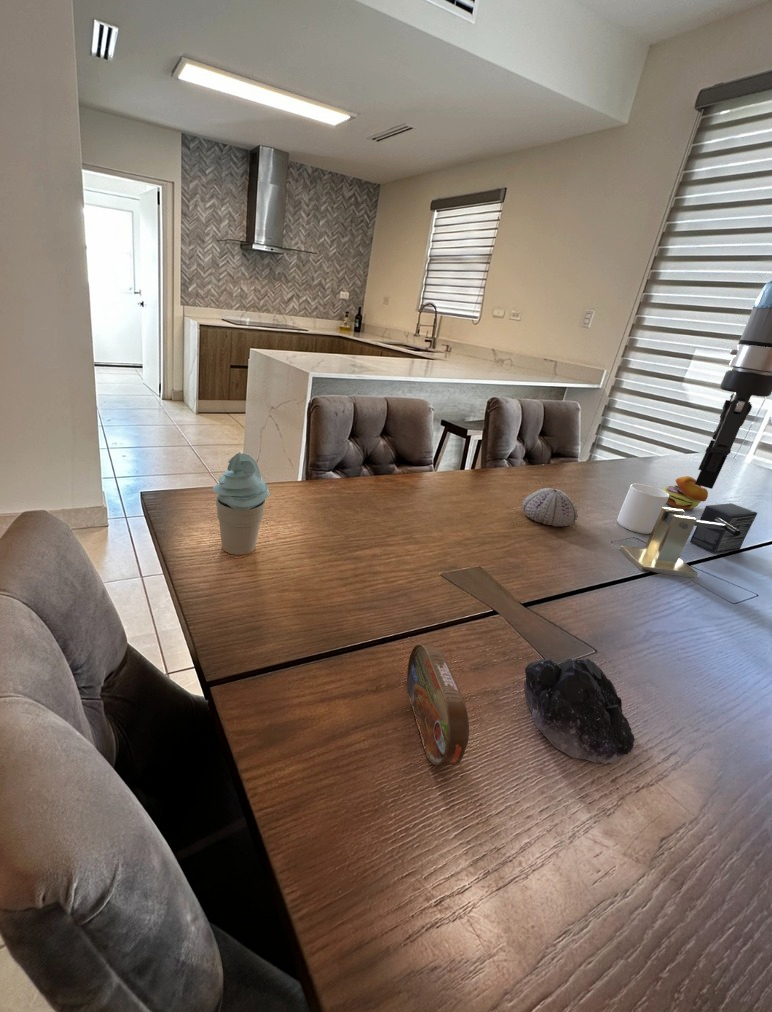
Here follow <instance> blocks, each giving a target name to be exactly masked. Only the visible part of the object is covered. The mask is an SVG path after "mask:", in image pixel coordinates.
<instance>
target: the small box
mask: <svg viewBox="0 0 772 1012" xmlns="http://www.w3.org/2000/svg"><path fill="white" fill-rule="evenodd" d="M701 513H702V514H701V515H700V517H699V519H698V520H699V521H707V522H714V520H715V519H717V518H720V519H722V520H723V521H725V522H726V523H728V524H730V525H731V526H733V527H734V528H736V529H738V530H739V531H740V532H741V534H740V535H739V536H734V535H732V534H730V533H729V532H727V531H726V530H723V529H715V528H707V527H700V526H695V529H694V531H693V532H692V535H691V538H690V539H689V543H690V544H693V545H695V546H697V547H699V548H701V549H703V550H705V551H707V552H710V553H712V554H714V555H715V554H721V553H728V552H734V551H740V550H741V547H742V546H743V543H744V542H745V539H746V536H747V535H748V533H749V531H750V529H751V527H752V525H753V523H754V521H755V520H756V517H757V516H758V512H756V511H753V510H751V509H748V508H745V507H743V506H740V505H737V504H735V503H732V502H730V503H729V502H727V503H718V504H710V505H709V504H708V505H705V507H704V509H703V512H701Z"/></svg>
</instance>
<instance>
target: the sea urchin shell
mask: <svg viewBox="0 0 772 1012" xmlns="http://www.w3.org/2000/svg"><path fill="white" fill-rule="evenodd" d="M521 509H522V512H523V513H524V515H526V516H527V517H528V518H529V519H530V520H532V521H535V522H537V523H541V524H543V525H547V526H552V527H567V526H568V527H569V526H571V525H573V524H574V523H576V521H577V520H578V517H579V516H578V509H577V506H576V505H575V502H574V501H573V500H572V498H570V496H569V495H568V494H567V493H565V492H563V491H562V490H560V489H556V488H551V487H545V488H540V489H537V490H536V491H534V492H532V493H530V494H529V495H527V496H526V497H525V498H523V501H522V504H521Z"/></svg>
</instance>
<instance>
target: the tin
mask: <svg viewBox="0 0 772 1012" xmlns="http://www.w3.org/2000/svg"><path fill="white" fill-rule="evenodd" d="M406 689H407V695H408V694H409V696H410V698H411V703H412V706H414V710H415V711H414V712H415V714H416V716H415V717H416V719H417V722H418V724H419V726H420V730H421V734H422V737H423V739H424V746H425V747H426V748H425V750H426V751H424V753H425V752H426V754H425V756H426V759H428V761H429V762H430V764H432V765H433V766H439V765H442V766H456V765H458V764H460V762H461V761H462V759H463V757H464V755H465V752H466V749H467V746H468V744H469V738H470V722H469V715H468V709H467V705H466V703H465V700H464V698H463V696H462V693H461V690H460V688H459V685H458V683H457V682H456V679H455V677H454V674H453V672H452V670H451V667H450V665H449V663H448V661H447V658H446V656H445V654H444V652H443V651H442V650H441V648H438V647H436V646H430V645H429V646H428V645H423V644H416V645H415V646H414V647H413V648H412V649H411V653H410V654H409V659H408V662H407V672H406Z"/></svg>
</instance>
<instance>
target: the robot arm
mask: <svg viewBox="0 0 772 1012" xmlns="http://www.w3.org/2000/svg"><path fill="white" fill-rule="evenodd" d="M751 308H752V309H751V312H750V314H749V317H748V320H747V322H746V325H745V327H744V329H743V332H742V334H741V337H740V339H739V341H738V343H737V346H736V348H737V349H736V348H735V349H733V348H732V349H731V350H729V354H730V355H731V356H733V357H731V360H730V362H729V366H730V367H732V368H731V369H728V370H726V371H725V373H724V375H723V378H722V380H721V382H720V385H719V388H720V389H721V390H722V391H726V392H731V393H732V394H730V396H729V397H730V398H729V399H726V400H725V401H724V403H723V405H722V408H721V409H722V411H721V413H720V416H719V418H720V419H719V423H718V424H717V427H716V429H715V430H714V431H713V435H712V436H711V438H712V439H711V440H710V442H709V443H708V446H707V447H706V449H705V452H704V455H703V458H702V459H701V462H700V464H699V467H698V471H699V473H698V476H697V478H696V479H695V480H696V482H695V485H699V486H701V487H703V488H706V489H707V488H708V489H711V490H712V489H713V488H714V486H715V484H716V482H717V479H718V477H719V475H720V474H721V471H722V469H723V466H724V465H725V462H726V460H727V458H728V456H729V455H730V454H731V453H732V450H731V449H732V447H733V445H734V443H735V440H736V438H737V435H738V433H739V431H740V428H741V427H742V426H743V425H744V423H745V421H746V419H747V416H748V415H750V412H751V411H752V408H753V404H752V402H751V401H750V400H751V398H752V396H753V397H754V396H755V397H764V398H765V397H769V396H771V394H772V280H770V281H768V282H766V283H765V284H764V286H762V289H761V291H760V292H759V294H758V296H757V298H756V300H755V302H754V304H753V305H752V307H751Z"/></svg>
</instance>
